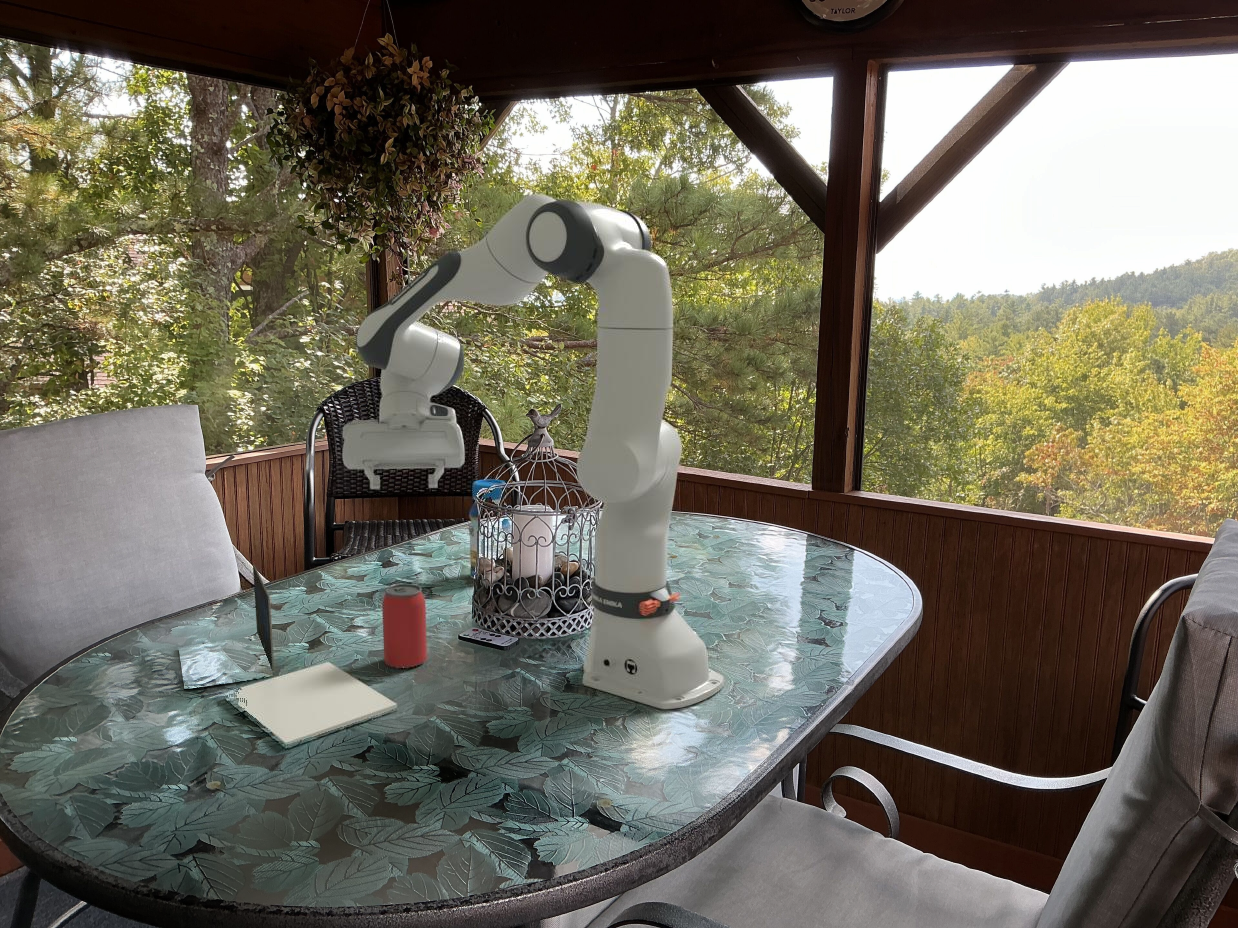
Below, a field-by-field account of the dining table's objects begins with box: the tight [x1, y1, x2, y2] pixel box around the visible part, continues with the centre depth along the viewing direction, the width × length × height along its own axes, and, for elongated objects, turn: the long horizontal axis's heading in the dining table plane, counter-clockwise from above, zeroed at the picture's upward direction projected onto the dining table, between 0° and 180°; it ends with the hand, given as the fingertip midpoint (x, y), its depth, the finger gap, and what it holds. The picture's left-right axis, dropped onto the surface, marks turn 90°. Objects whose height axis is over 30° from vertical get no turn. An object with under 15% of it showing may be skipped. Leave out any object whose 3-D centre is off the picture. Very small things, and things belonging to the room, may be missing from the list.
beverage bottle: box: [468, 478, 512, 579], centre depth 183 cm, size 8×8×20 cm
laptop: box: [252, 564, 276, 671], centre depth 139 cm, size 18×12×13 cm
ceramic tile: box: [226, 661, 398, 745], centre depth 126 cm, size 20×16×1 cm
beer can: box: [381, 583, 428, 669], centre depth 141 cm, size 7×7×12 cm
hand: (404, 486), depth 149 cm, fingers open, 8 cm apart
